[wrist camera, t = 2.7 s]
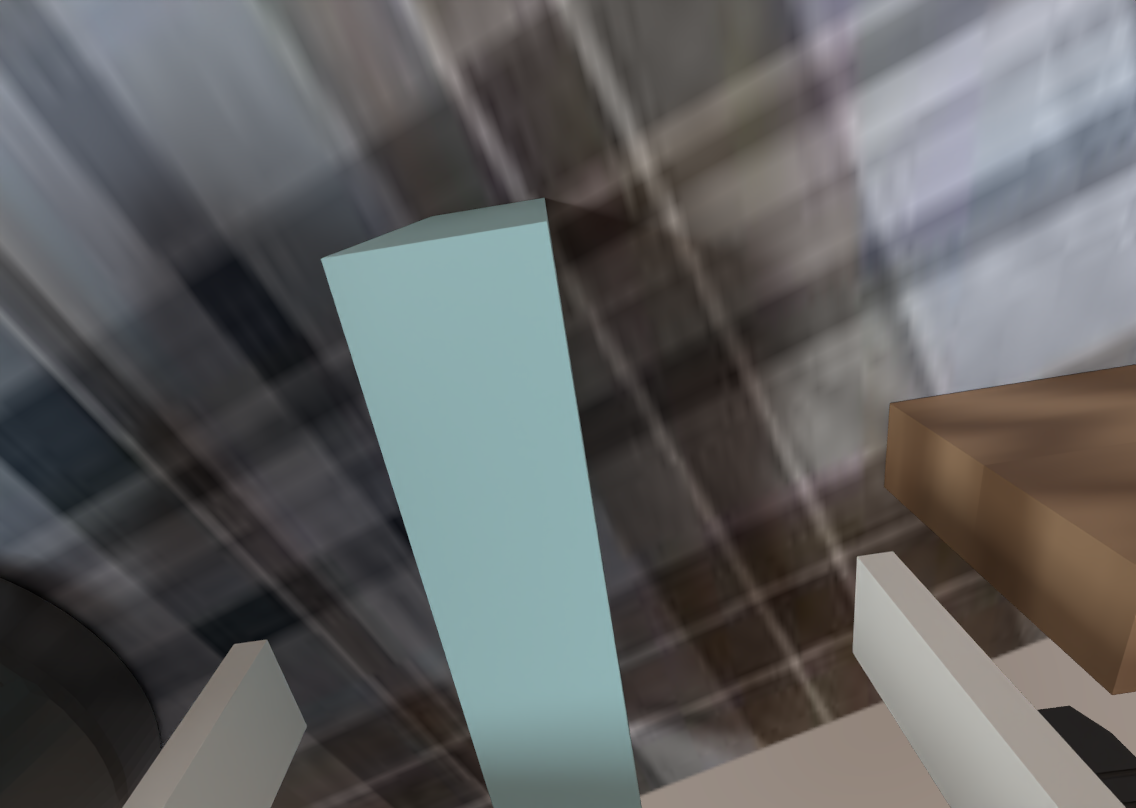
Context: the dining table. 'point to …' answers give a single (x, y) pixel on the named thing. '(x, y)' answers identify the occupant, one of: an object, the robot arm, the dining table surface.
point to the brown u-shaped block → (1036, 502)
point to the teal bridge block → (495, 492)
